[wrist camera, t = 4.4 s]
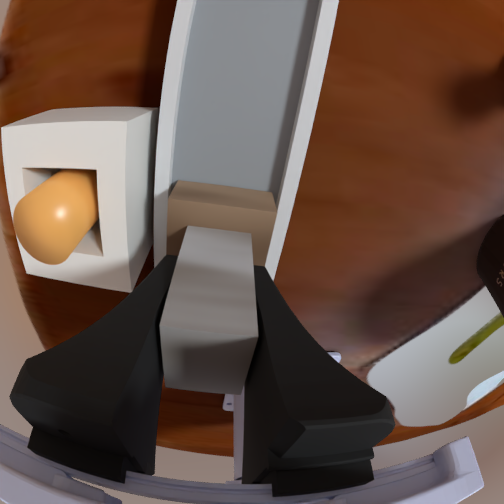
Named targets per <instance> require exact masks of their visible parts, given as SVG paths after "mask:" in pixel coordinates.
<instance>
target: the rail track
mask: <svg viewBox="0 0 504 504" xmlns="http://www.w3.org/2000/svg"><path fill="white" fill-rule="evenodd" d="M338 2H339V0H177V5H176V9H175V14H174V19H173V24H172V29H171V35H170V40H169V46H168V52H167V59H166V65H165V72H164V79H163V87H162V95H161V104H160V114H159V124H158V136H157V149H156V166H155V188H154V268H155V267H156V266H157V264H158V263H159V262H160V261H161V260H162V258H163V257H164V256H166V241H167V208H168V198H169V196H170V194H171V192H172V190H173V189H174V187H175V185H176V183H177V181H178V180H181V181H190V182H199V183H208V184H216V185H224V186H231V187H239V188H246V189H253V190H260V191H266V192H272V194H273V198H274V201H275V205H276V209H277V217H276V221H275V225H274V230H273V234H272V238H271V242H270V247H269V251H268V255H267V259H266V263H265V268H266V269H267V271H268V273H269V274H270V276H271V278H272V280H274V277H275V273H276V269H277V265H278V262H279V258H280V254H281V250H282V247H283V243H284V239H285V235H286V231H287V227H288V224H289V220H290V216H291V212H292V208H293V204H294V200H295V196H296V192H297V188H298V184H299V180H300V176H301V172H302V168H303V163H304V159H305V155H306V151H307V147H308V142H309V138H310V134H311V130H312V125H313V121H314V117H315V112H316V108H317V103H318V99H319V94H320V90H321V85H322V81H323V76H324V71H325V67H326V62H327V57H328V52H329V47H330V43H331V38H332V33H333V28H334V23H335V17H336V12H337V7H338Z"/></svg>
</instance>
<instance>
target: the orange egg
mask: <svg viewBox="0 0 504 504" xmlns="http://www.w3.org/2000/svg"><path fill="white" fill-rule="evenodd" d="M98 219H99V207H98V190H97V170H96V169H74V168H63V169H61V170H60V171H58V172H57V173H56V174H54V175H53V176H51V177H50V178H48V179H47V180H46V181H44V182H43V183H41V184H40V185H39V186H37V187H36V188H35V189H33V190H32V191H31V192H29V193H28V194H27V195H26V196H24V197H23V198H22V199H21V200H20V201H19V202H18V203H17V205H16V207H15V210H14V214H13V224H14V229H15V233H16V235H17V238H18V240H19V242H20V243H21V245H22V246H23V248H24V249H25V250H26V251H27V252H28V253H29V254H30V255H31V256H32V257H33V258H35V259H36V260H38V261H40V262H42V263H44V264H48V265H57V264H61V263H63V262H64V261H66V260H67V259H68V257H69V256H70V254H71V253H72V252H73V250H74V249H75V248H76V246H77V245H78V244H79V243H80V241H81V240H82V239H83V237H84V236H85V235H86V234H87V232H88V231H89V230H90V229H91V227H92V226H93V225H94V224H95V222H96V221H97V220H98Z"/></svg>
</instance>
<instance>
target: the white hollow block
mask: <svg viewBox="0 0 504 504" xmlns="http://www.w3.org/2000/svg"><path fill="white" fill-rule="evenodd" d="M158 114H159V108H150V107H83V108H65V109H52V110H49V111H46V112H43V113H40V114H37V115H34V116H31V117H28V118H25V119H22V120H19V121H17V122H14V123H11V124H9V125H6V126H4V127H1V133H2V149H3V161H4V170H5V178H6V185H7V192H8V198H9V204H10V209H11V214H12V219H13V214H14V210H15V207H16V205H17V203H18V202H19V201H20V200H21V199H22V198H23V197H24V196H26V195H27V194H28V193H29V192H31V191H32V190H33V189H35V188H36V187H37V186H39V185H40V184H41V183H43V182H44V181H46V180H47V179H48V178H50V177H51V176H53V175H54V174H56V173H57V172H58V171H60V170H61V169H63V168H74V169H96V170H97V190H98V207H99V219H98V220H97V221H96V222H95V224H94V225H93V226H92V227H91V229H90V230H89V231H88V232H87V234H86V235H85V236H84V237H83V239H82V240H81V241H80V243H79V244H78V245H77V246H76V248H75V249H74V250H73V252H72V253H71V254H70V256H69V257H68V259H67V260H66V261H64V262H63V263H61V264H57V265H48V264H44V263H42V262H40V261H38V260H36V259H35V258H33V257H32V256H31V255H30V254H29V253H28V252H27V251H26V250H25V249H24V248H23V246H22V245H21V243H20V242H19V240H18V238H17V241H18V245H19V248H20V252H21V256H22V259H23V263H24V266H25V269H26V273H27V274H32V275H36V276H41V277H46V278H51V279H56V280H61V281H66V282H71V283H76V284H82V285H87V286H93V287H99V288H105V289H110V290H117V291H123V292H129V293H131V292H132V291H133V289H134V286H135V284H136V282H137V279H138V277H139V274H140V272H141V269H142V267H143V265H144V262H145V260H146V258H147V256H148V253H149V251H150V249H151V246H152V244H153V191H154V167H155V150H156V136H157V124H158ZM16 237H17V235H16Z"/></svg>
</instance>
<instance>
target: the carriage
mask: <svg viewBox="0 0 504 504" xmlns="http://www.w3.org/2000/svg"><path fill="white" fill-rule="evenodd" d="M276 217H277V209H276V205H275V201H274V198H273V194H272V192H266V191H260V190H253V189H246V188H239V187H231V186H224V185H216V184H208V183H199V182H190V181H181V180H178V181H177V183H176V185H175V187H174V189H173V190H172V192H171V194H170V196H169V198H168V208H167V241H166V255H175V256H178V259H177V263H176V266H175V270H174V273H173V277H172V280H171V284H170V288H169V291H168V295H167V299H166V302H165V306H164V310H163V314H162V318H161V322H160V337H161V349H162V360H163V370H164V379H165V387H168V388H175V389H183V390H191V391H199V392H209V393H220V394H233V395H241V393H242V390H243V387H244V383H245V380H246V377H247V373H248V370H249V367H250V363H251V360H252V357H253V353H254V350H255V346H256V343H257V340H258V324H257V310H256V295H255V281H254V267H253V265H258V266H265V263H266V259H267V255H268V251H269V247H270V242H271V238H272V234H273V230H274V225H275V221H276Z"/></svg>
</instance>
